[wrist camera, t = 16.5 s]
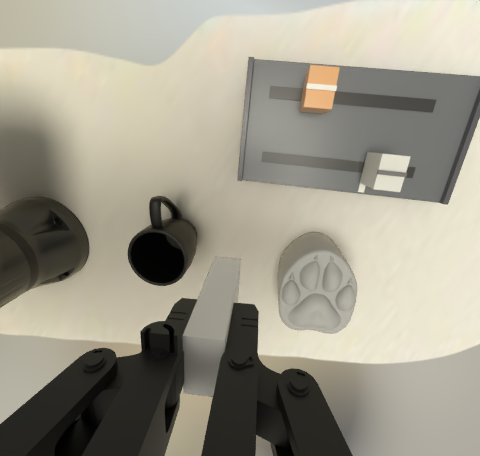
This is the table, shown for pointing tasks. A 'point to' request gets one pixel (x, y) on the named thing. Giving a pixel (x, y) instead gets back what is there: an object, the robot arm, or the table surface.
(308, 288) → the lumpy-topped squat cylinder
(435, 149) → the console
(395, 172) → the fader
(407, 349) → the table surface
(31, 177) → the table surface
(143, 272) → the mug
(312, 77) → the fader
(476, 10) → the table surface
